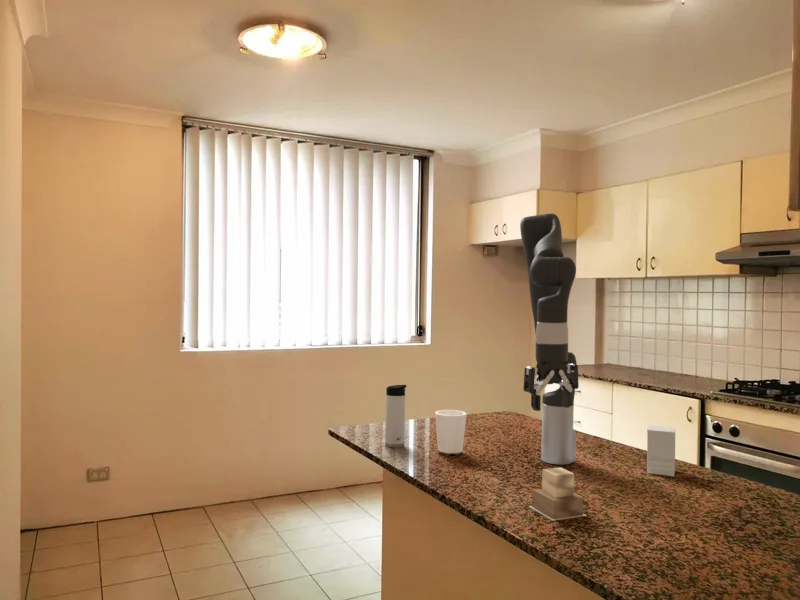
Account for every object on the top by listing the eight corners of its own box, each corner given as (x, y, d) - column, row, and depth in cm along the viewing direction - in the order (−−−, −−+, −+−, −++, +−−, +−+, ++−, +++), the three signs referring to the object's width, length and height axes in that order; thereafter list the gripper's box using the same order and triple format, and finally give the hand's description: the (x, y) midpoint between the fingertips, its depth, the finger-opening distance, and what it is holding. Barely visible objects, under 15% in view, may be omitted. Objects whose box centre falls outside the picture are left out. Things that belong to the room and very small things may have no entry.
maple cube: (560, 488, 141) (560, 467, 141) (573, 495, 136) (574, 473, 136) (542, 490, 139) (542, 469, 139) (555, 497, 134) (555, 475, 134)
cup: (429, 455, 187) (430, 414, 187) (439, 447, 196) (440, 408, 196) (460, 458, 183) (461, 417, 183) (469, 451, 193) (470, 411, 192)
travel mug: (403, 448, 194) (404, 386, 194) (383, 447, 196) (384, 385, 195) (406, 443, 200) (408, 383, 200) (387, 442, 202) (388, 382, 201)
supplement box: (674, 470, 176) (675, 427, 176) (674, 477, 169) (675, 432, 169) (647, 466, 179) (648, 424, 179) (646, 473, 172) (647, 429, 172)
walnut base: (560, 503, 143) (561, 486, 143) (583, 514, 135) (583, 497, 135) (532, 506, 140) (532, 489, 140) (553, 519, 132) (553, 501, 132)
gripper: (565, 338, 150) (565, 403, 151) (517, 340, 144) (517, 408, 145) (586, 341, 143) (585, 409, 144) (536, 344, 137) (535, 414, 138)
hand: (551, 408), depth 144 cm, fingers open, 8 cm apart
